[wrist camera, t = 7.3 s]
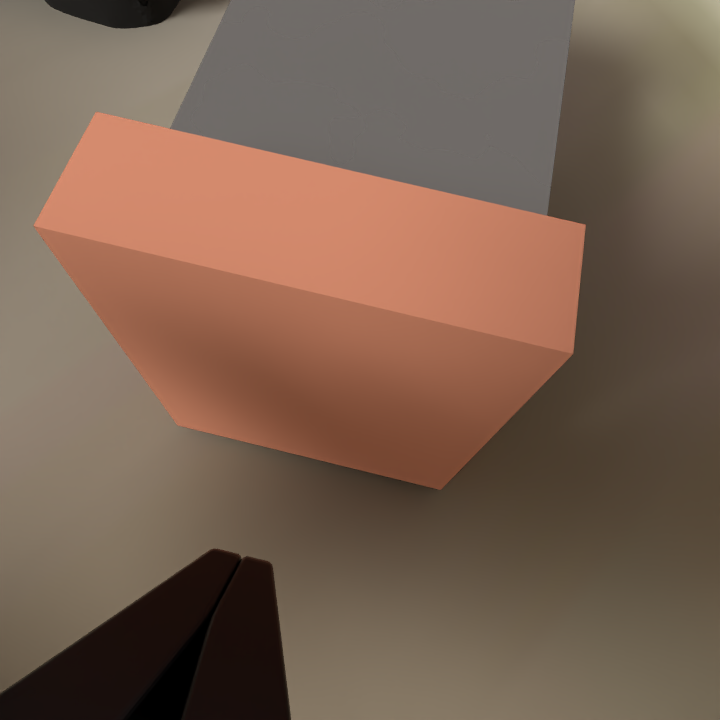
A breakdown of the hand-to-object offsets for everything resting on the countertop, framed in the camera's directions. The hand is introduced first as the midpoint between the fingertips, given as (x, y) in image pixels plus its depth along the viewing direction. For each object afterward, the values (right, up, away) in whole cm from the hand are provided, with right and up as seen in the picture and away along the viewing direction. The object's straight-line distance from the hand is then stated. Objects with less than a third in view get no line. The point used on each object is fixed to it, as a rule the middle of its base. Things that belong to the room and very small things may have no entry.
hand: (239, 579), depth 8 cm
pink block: (+2, +5, +9) cm, 11 cm away
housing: (+2, +7, +10) cm, 12 cm away
